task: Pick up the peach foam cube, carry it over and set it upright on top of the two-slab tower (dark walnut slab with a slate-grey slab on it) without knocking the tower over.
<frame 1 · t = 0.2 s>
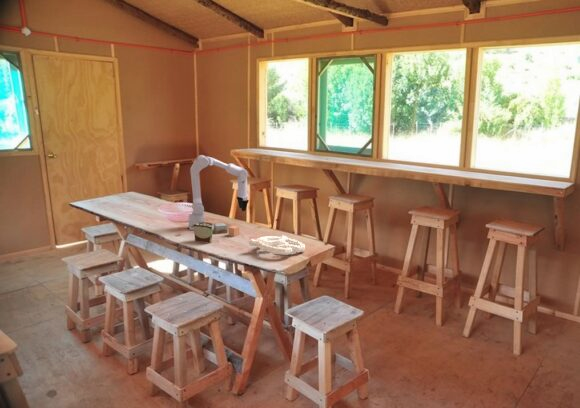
hand: (242, 209, 274), 10 cm above the table, fingers open, 7 cm apart
top slab: (220, 228, 260), point 2 cm above the table, touching bottom slab
peach foam cube: (234, 235, 254), on the table
bottom slab: (220, 232, 261), on the table, touching top slab
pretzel: (278, 250, 230), on the table
food container: (205, 241, 244), on the table
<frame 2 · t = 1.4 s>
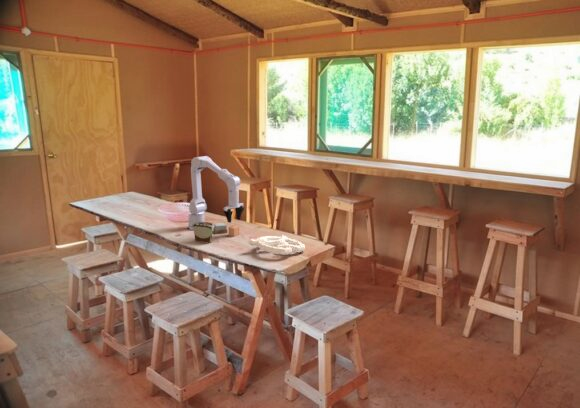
hand: (233, 220, 252), 9 cm above the table, fingers open, 7 cm apart
nothing on the table moved.
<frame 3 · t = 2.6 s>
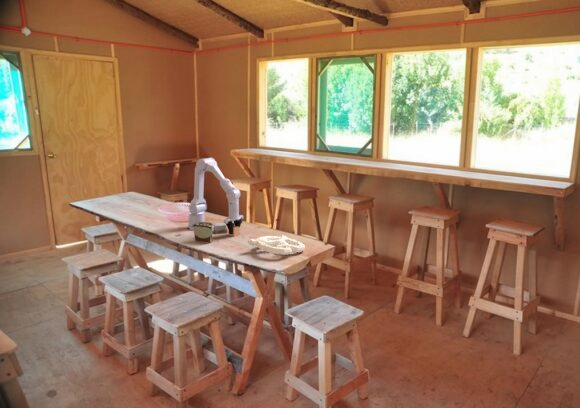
hand: (233, 232, 254), 1 cm above the table, fingers closed on peach foam cube, 4 cm apart
peach foam cube: (234, 235, 254), on the table, touching gripper
everything else where it was.
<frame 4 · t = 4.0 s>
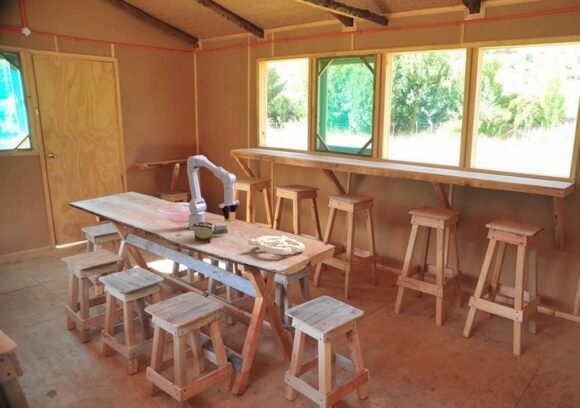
hand: (229, 218, 254), 10 cm above the table, fingers closed on peach foam cube, 4 cm apart
peach foam cube: (229, 220, 254), point 8 cm above the table, touching gripper
everything else where it was.
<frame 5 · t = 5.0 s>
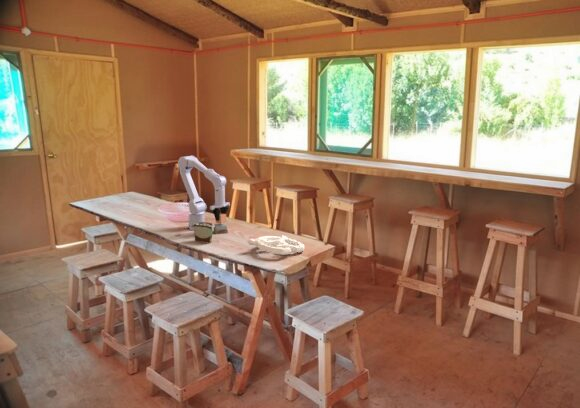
hand: (220, 219, 259), 7 cm above the table, fingers closed on peach foam cube, 4 cm apart
peach foam cube: (220, 222, 259), point 6 cm above the table, touching gripper
everything else where it was.
when the fingers open (7 cm above the table, at t = 5.6 s): peach foam cube stays where it is, point 5 cm above the table.
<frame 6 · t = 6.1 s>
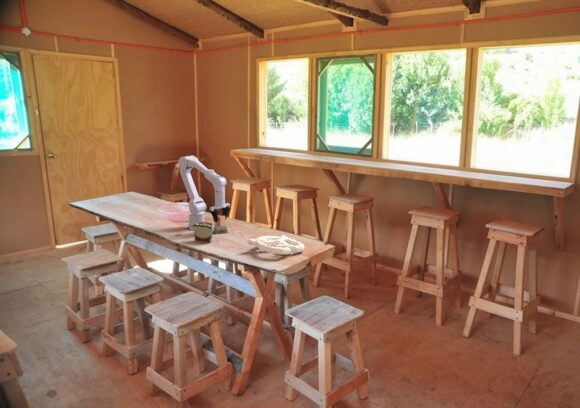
hand: (220, 220, 259), 7 cm above the table, fingers open, 7 cm apart
peach foam cube: (220, 224, 259), point 5 cm above the table
everything else where it was.
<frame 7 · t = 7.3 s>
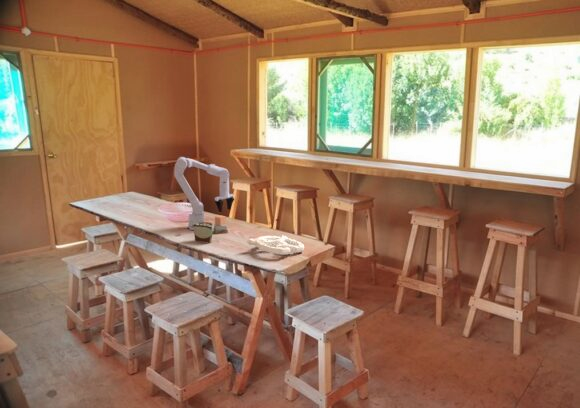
hand: (224, 210, 268), 10 cm above the table, fingers open, 7 cm apart
top slab: (220, 228, 260), point 2 cm above the table, touching bottom slab, peach foam cube
peach foam cube: (220, 224, 259), point 4 cm above the table, touching top slab
everything else where it was.
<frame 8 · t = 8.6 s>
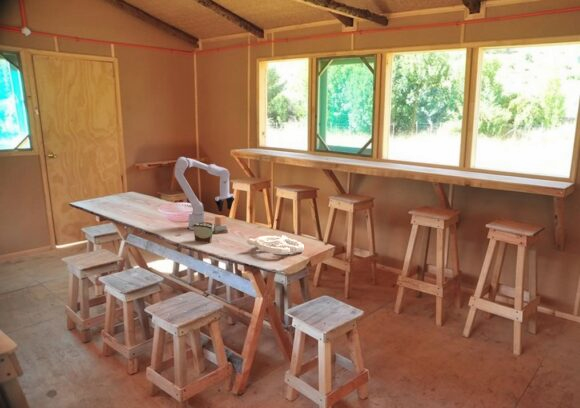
hand: (224, 210, 269), 10 cm above the table, fingers open, 7 cm apart
nothing on the table moved.
at the end: peach foam cube 0.2 cm off-centre on the top slab, point 2.5 cm above the top slab's base; peach foam cube tilted 0°; top slab 0.2 cm off-centre on the bottom slab, point 2.5 cm above the bottom slab's base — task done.
